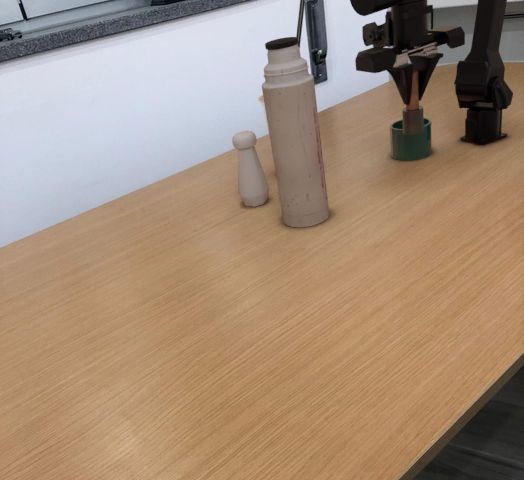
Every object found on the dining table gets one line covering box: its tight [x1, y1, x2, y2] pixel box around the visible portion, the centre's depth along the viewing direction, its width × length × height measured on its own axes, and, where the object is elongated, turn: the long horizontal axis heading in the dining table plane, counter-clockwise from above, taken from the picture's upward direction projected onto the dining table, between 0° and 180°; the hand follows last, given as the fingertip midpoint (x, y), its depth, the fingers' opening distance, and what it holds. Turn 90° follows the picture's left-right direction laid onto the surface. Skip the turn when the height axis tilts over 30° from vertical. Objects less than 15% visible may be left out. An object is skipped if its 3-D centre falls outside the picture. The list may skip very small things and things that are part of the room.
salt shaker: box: [231, 130, 270, 208], centre depth 110 cm, size 6×6×13 cm
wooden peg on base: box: [401, 70, 425, 135], centre depth 105 cm, size 4×4×10 cm
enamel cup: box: [389, 117, 433, 162], centre depth 119 cm, size 8×8×6 cm
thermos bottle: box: [261, 36, 330, 228], centre depth 96 cm, size 8×8×28 cm
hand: (412, 102), depth 105 cm, fingers closed on wooden peg on base, 2 cm apart
